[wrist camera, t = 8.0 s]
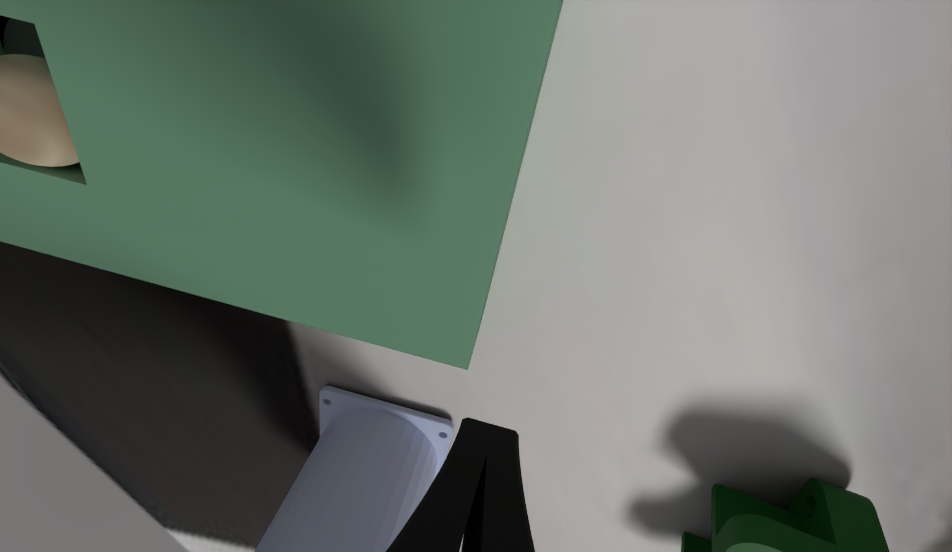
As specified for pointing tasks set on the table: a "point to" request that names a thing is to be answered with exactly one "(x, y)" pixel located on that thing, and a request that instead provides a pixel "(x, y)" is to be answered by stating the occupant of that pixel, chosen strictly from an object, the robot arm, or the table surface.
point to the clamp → (791, 523)
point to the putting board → (288, 153)
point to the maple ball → (32, 114)
